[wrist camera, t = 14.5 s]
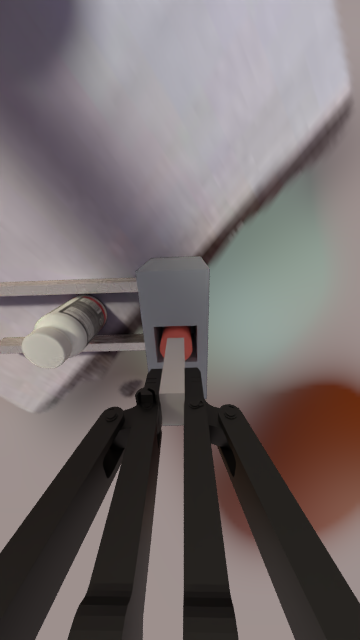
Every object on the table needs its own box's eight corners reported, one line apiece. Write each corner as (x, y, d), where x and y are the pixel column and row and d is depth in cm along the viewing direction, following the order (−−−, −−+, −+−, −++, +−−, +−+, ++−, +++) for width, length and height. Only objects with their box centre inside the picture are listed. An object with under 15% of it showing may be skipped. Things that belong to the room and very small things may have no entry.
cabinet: (160, 353, 30) (152, 399, 22) (151, 258, 24) (135, 271, 16) (199, 352, 30) (206, 398, 21) (200, 256, 24) (209, 269, 16)
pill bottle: (79, 332, 28) (31, 378, 20) (62, 298, 26) (0, 332, 17) (113, 325, 28) (81, 369, 19) (99, 290, 26) (55, 320, 17)
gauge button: (165, 335, 24) (161, 362, 19) (163, 312, 22) (158, 335, 17) (190, 334, 23) (192, 362, 18) (190, 311, 22) (192, 334, 17)
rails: (8, 344, 29) (-7, 353, 27) (-21, 283, 26) (-41, 288, 23) (159, 340, 29) (157, 349, 26) (153, 276, 25) (150, 281, 23)
